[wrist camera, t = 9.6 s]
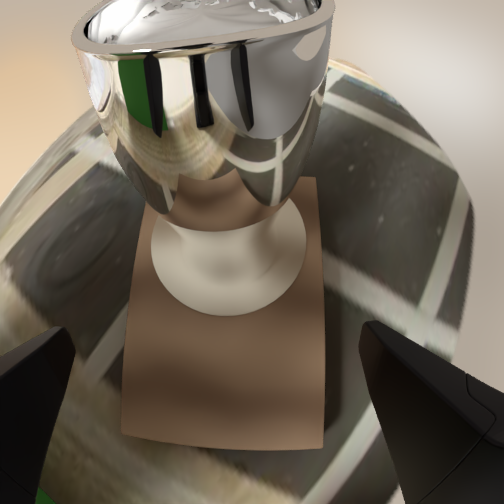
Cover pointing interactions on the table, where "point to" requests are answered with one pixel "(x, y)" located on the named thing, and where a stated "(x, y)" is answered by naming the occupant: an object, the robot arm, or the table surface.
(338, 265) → the table surface
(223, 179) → the metal tumbler
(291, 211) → the walnut base
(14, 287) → the table surface
